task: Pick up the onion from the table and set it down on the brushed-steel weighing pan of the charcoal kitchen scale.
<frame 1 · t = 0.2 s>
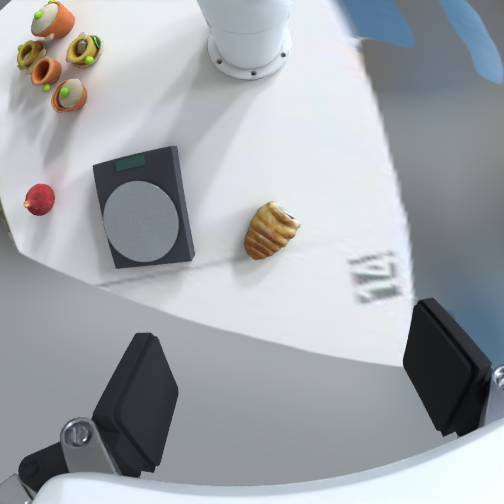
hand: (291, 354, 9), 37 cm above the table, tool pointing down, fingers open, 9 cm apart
pastry: (271, 227, 46), on the table
scale pan: (139, 222, 42), point 4 cm above the table, slide at 0.0 cm
toy tea set: (66, 58, 34), on the table
scale: (145, 207, 45), on the table
onion: (52, 195, 44), on the table
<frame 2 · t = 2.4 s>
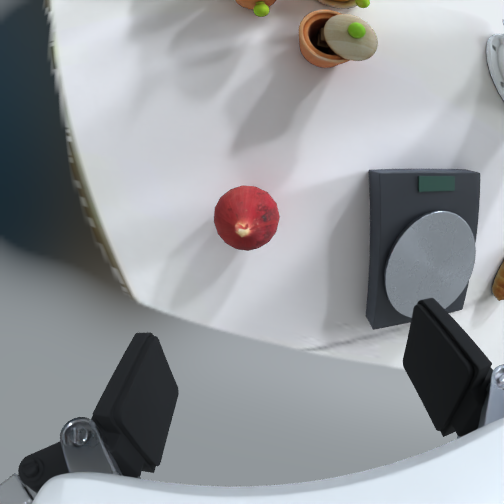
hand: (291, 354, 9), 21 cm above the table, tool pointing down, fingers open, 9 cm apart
scale pan: (434, 267, 27), point 4 cm above the table, slide at 0.0 cm
scale: (420, 243, 30), on the table
onion: (248, 208, 30), on the table
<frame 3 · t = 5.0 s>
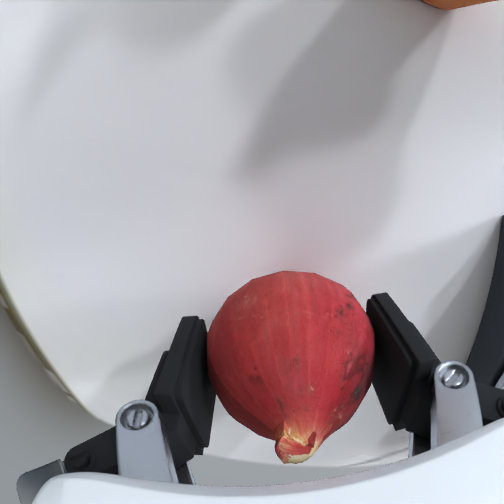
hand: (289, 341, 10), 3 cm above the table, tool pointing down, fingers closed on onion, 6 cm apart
onion: (283, 299, 13), on the table, touching gripper
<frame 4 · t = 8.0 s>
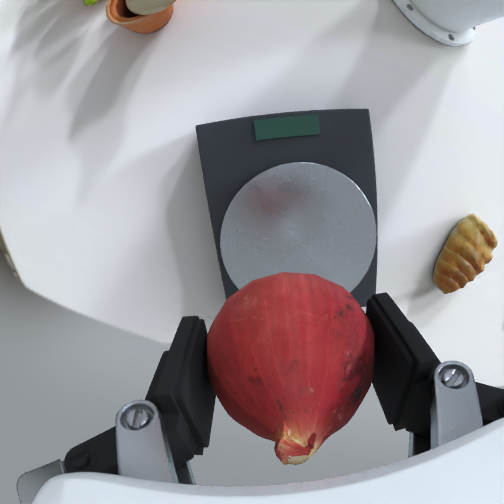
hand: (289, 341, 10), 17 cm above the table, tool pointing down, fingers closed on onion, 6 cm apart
pastry: (460, 248, 27), on the table
scale pan: (301, 243, 23), point 4 cm above the table, slide at 0.0 cm
scale: (293, 215, 26), on the table
onion: (282, 299, 13), point 14 cm above the table, touching gripper
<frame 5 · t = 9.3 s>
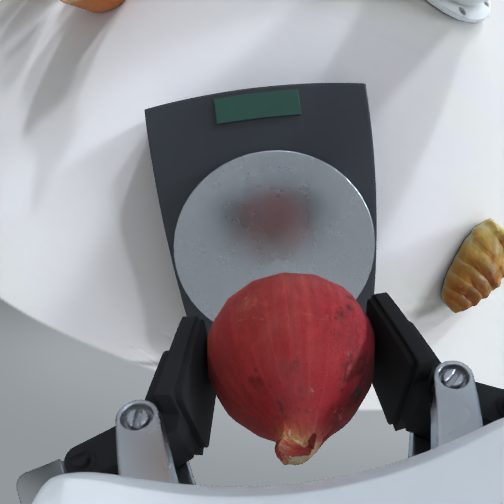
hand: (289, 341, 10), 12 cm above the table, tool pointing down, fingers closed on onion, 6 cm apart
pastry: (473, 259, 22), on the table
scale pan: (276, 255, 18), point 4 cm above the table, slide at 0.0 cm
scale: (271, 218, 21), on the table
onion: (283, 300, 13), point 9 cm above the table, touching gripper
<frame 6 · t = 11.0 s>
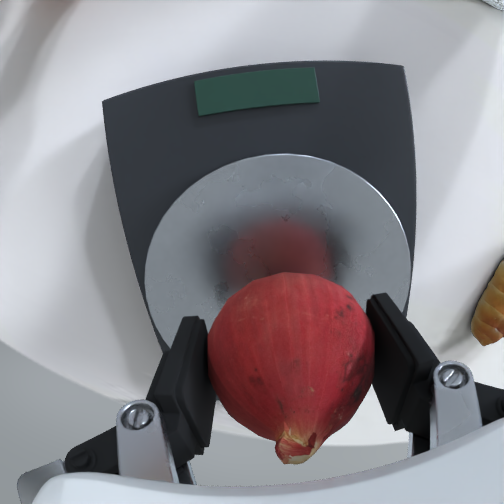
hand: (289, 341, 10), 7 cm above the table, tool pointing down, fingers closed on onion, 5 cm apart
scale pan: (282, 298, 13), point 3 cm above the table, slide at -0.2 cm, touching onion
scale: (274, 243, 16), on the table
onion: (283, 299, 13), point 4 cm above the table, touching gripper, scale pan
when the fingers open (7 cm above the table, at t = 11.1 s): onion stays where it is, resting on scale pan.
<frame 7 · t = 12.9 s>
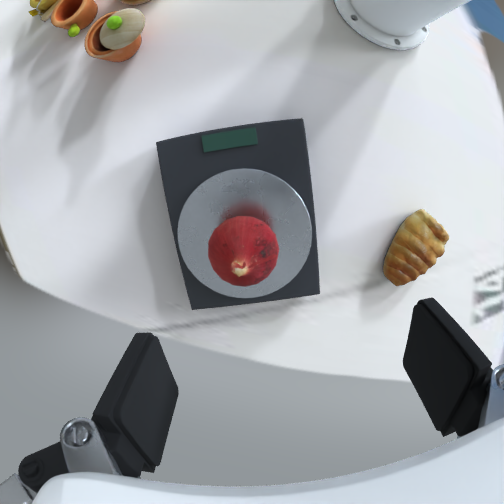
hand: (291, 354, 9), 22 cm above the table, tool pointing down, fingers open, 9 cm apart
pastry: (412, 243, 31), on the table
scale pan: (244, 236, 28), point 3 cm above the table, slide at -0.3 cm, touching onion
scale: (243, 214, 30), on the table
onion: (244, 237, 28), point 3 cm above the table, touching scale pan
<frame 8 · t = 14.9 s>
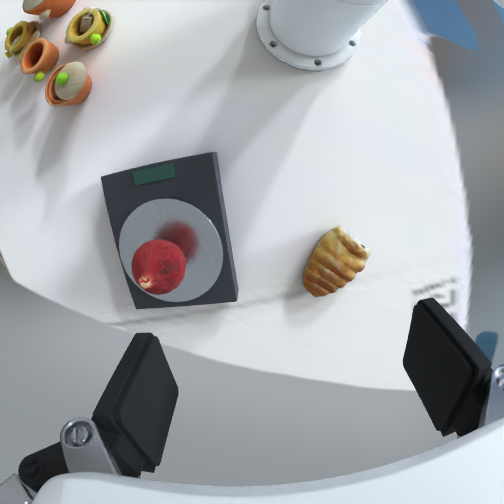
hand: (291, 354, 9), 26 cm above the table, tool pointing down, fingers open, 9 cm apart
pastry: (334, 257, 37), on the table
scale pan: (168, 252, 33), point 3 cm above the table, slide at -0.3 cm, touching onion
toy tea set: (65, 40, 25), on the table
scale: (173, 232, 36), on the table
onion: (168, 253, 33), point 3 cm above the table, touching scale pan
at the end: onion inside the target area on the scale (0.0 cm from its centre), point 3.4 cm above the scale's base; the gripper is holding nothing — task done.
